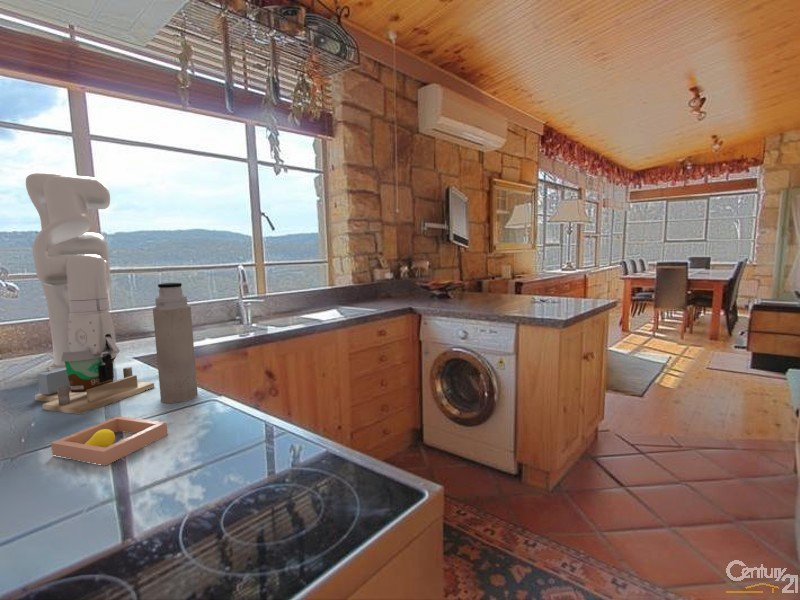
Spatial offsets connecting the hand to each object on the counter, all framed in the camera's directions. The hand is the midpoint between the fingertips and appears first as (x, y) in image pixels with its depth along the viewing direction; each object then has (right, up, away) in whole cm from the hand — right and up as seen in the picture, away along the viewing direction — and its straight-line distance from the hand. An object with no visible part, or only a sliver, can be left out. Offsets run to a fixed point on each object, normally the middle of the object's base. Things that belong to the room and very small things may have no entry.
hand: (97, 378), depth 103 cm
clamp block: (-11, -3, +4) cm, 12 cm away
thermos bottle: (+21, -5, -1) cm, 21 cm away
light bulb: (+20, -8, -28) cm, 36 cm away
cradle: (-3, -5, +1) cm, 6 cm away
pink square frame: (+22, -7, -26) cm, 35 cm away
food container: (+1, -2, 0) cm, 2 cm away
